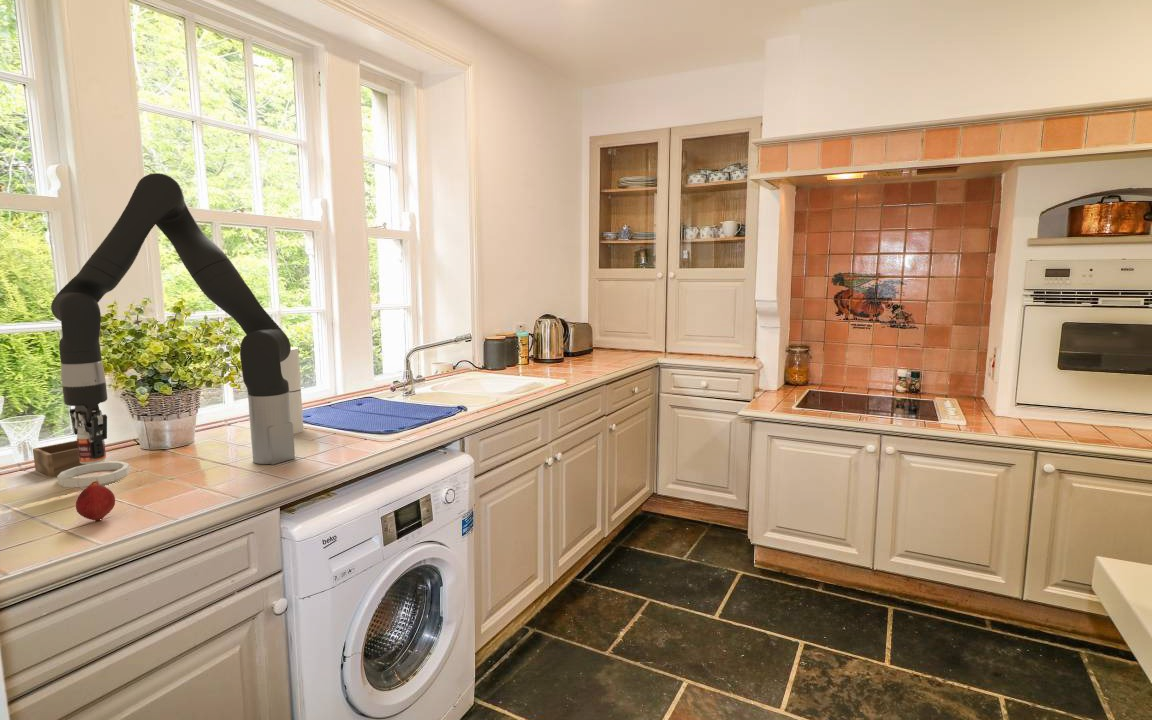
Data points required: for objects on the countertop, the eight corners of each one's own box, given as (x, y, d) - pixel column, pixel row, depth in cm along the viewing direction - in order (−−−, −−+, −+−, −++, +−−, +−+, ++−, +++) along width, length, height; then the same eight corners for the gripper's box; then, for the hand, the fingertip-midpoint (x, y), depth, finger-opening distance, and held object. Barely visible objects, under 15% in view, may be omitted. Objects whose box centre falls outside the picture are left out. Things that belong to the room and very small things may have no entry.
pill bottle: (77, 465, 132) (72, 429, 130) (83, 459, 136) (78, 424, 134) (103, 462, 134) (99, 426, 132) (108, 456, 138) (104, 421, 137)
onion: (85, 530, 110) (80, 488, 108) (73, 522, 113) (68, 482, 111) (122, 519, 114) (117, 479, 113) (109, 512, 117) (105, 473, 116)
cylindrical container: (284, 435, 172) (278, 351, 169) (272, 431, 177) (266, 348, 173) (308, 430, 178) (302, 348, 174) (296, 426, 182) (290, 346, 179)
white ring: (139, 477, 137) (137, 467, 137) (72, 494, 127) (71, 483, 126) (115, 468, 144) (114, 458, 143) (50, 483, 133) (49, 472, 133)
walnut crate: (98, 469, 143) (95, 445, 142) (50, 480, 135) (47, 455, 134) (82, 463, 147) (79, 439, 146) (35, 473, 140) (32, 448, 139)
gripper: (117, 382, 131) (125, 456, 134) (91, 376, 139) (99, 446, 141) (75, 388, 125) (85, 465, 128) (50, 381, 133) (59, 454, 135)
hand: (92, 455), depth 135 cm, fingers closed on pill bottle, 4 cm apart
